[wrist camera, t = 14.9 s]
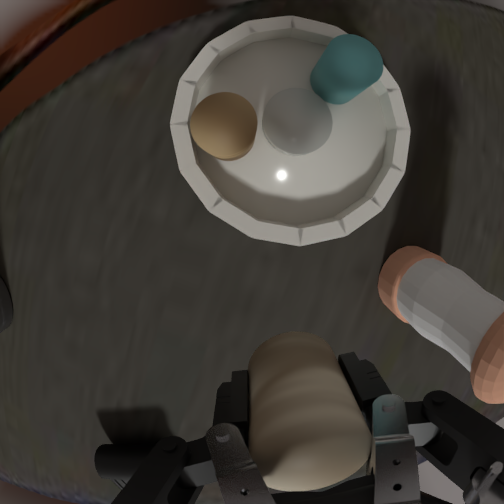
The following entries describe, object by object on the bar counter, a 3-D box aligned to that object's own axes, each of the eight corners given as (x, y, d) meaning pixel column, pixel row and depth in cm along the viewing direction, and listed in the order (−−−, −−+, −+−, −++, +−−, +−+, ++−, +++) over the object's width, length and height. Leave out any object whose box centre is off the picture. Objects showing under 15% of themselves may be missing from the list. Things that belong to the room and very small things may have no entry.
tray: (164, 217, 27) (154, 222, 24) (205, 20, 22) (200, 4, 19) (372, 253, 28) (386, 261, 25) (400, 65, 23) (415, 55, 20)
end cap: (162, 431, 33) (151, 468, 27) (183, 461, 35) (176, 496, 28) (103, 433, 34) (88, 465, 27) (126, 462, 35) (115, 493, 29)
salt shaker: (432, 302, 29) (546, 395, 11) (377, 317, 30) (480, 442, 11) (434, 240, 28) (577, 304, 9) (376, 251, 28) (517, 344, 9)
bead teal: (306, 97, 23) (323, 75, 18) (313, 55, 22) (329, 27, 17) (353, 110, 24) (381, 93, 18) (358, 68, 23) (384, 45, 17)
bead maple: (291, 314, 13) (318, 400, 8) (352, 361, 14) (395, 443, 8) (229, 374, 14) (222, 468, 8) (292, 412, 15) (308, 499, 9)
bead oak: (231, 171, 25) (226, 169, 19) (192, 139, 24) (176, 128, 18) (265, 133, 24) (271, 120, 18) (226, 101, 23) (221, 79, 18)
